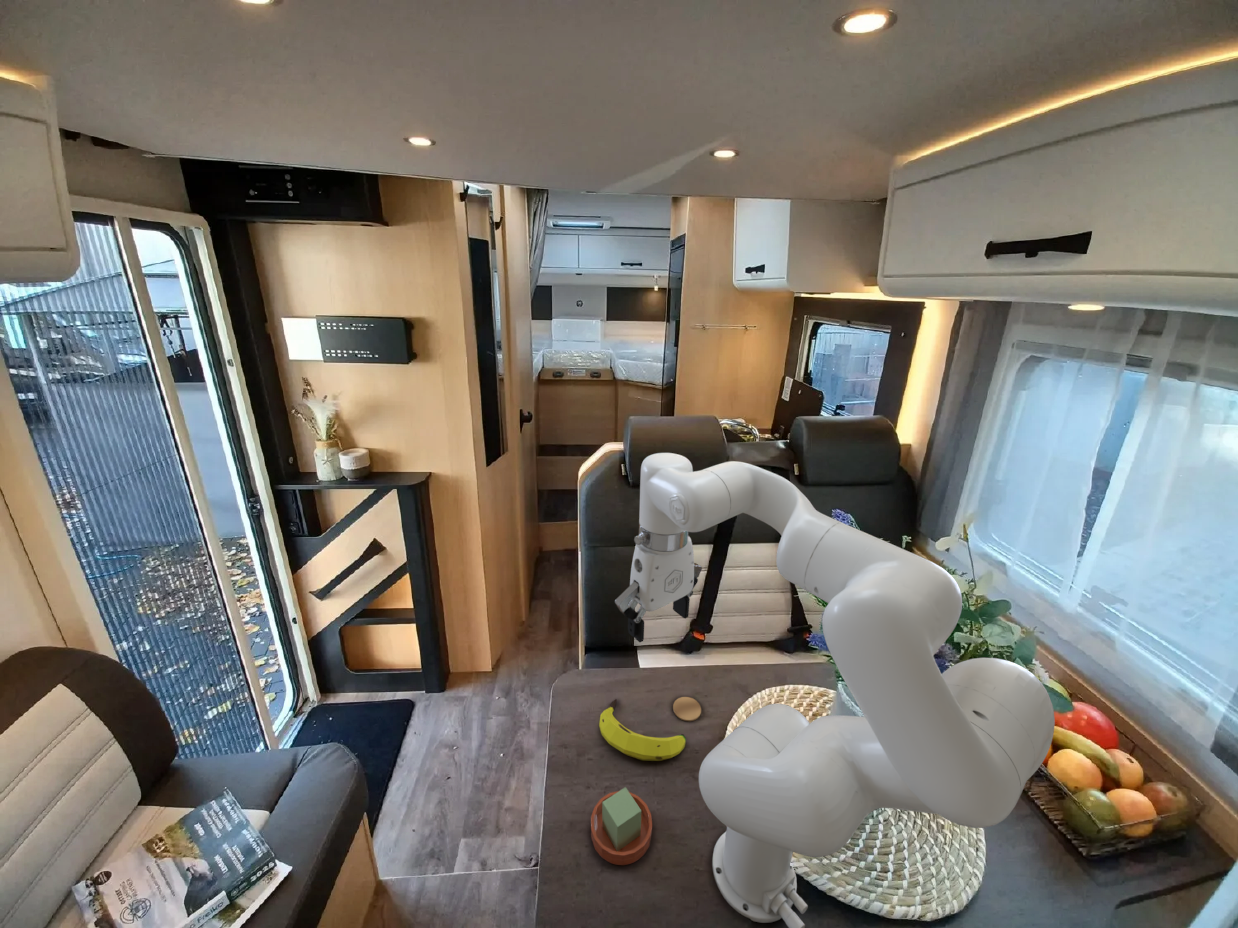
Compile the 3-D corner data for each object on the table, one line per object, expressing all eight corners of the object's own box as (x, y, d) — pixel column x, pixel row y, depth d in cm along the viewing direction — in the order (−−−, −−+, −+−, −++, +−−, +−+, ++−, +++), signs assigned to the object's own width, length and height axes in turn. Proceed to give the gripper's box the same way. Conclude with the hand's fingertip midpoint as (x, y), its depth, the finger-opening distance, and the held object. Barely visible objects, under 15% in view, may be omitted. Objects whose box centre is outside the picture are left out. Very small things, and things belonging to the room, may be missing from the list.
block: (640, 834, 79) (641, 810, 77) (617, 851, 77) (617, 826, 75) (625, 810, 83) (625, 786, 81) (602, 826, 80) (602, 801, 78)
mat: (706, 712, 103) (707, 711, 102) (685, 725, 99) (685, 724, 99) (688, 693, 107) (688, 692, 107) (667, 705, 104) (667, 704, 104)
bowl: (663, 842, 79) (664, 830, 78) (611, 881, 74) (611, 869, 72) (629, 791, 87) (629, 779, 86) (579, 823, 81) (579, 811, 80)
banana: (690, 750, 90) (681, 695, 104) (598, 743, 90) (601, 689, 104) (688, 770, 91) (679, 713, 105) (596, 764, 90) (600, 708, 105)
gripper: (634, 562, 66) (631, 661, 72) (720, 527, 75) (712, 617, 82) (602, 540, 71) (602, 633, 77) (687, 510, 81) (681, 595, 87)
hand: (658, 624), depth 79 cm, fingers open, 9 cm apart
